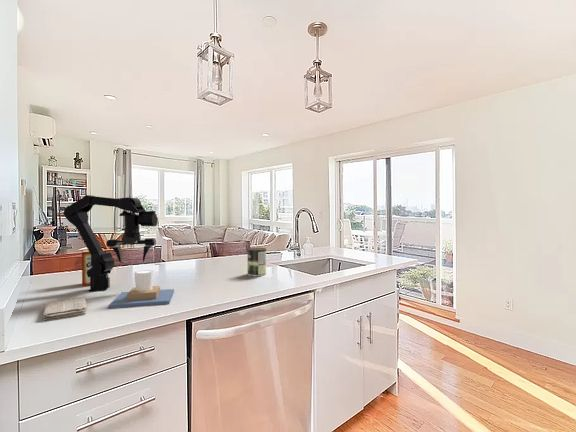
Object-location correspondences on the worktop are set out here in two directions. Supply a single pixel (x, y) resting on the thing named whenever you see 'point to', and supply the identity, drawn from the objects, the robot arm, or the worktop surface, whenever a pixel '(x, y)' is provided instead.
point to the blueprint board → (147, 302)
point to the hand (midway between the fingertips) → (132, 262)
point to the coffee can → (256, 261)
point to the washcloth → (64, 309)
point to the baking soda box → (86, 267)
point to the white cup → (144, 280)
